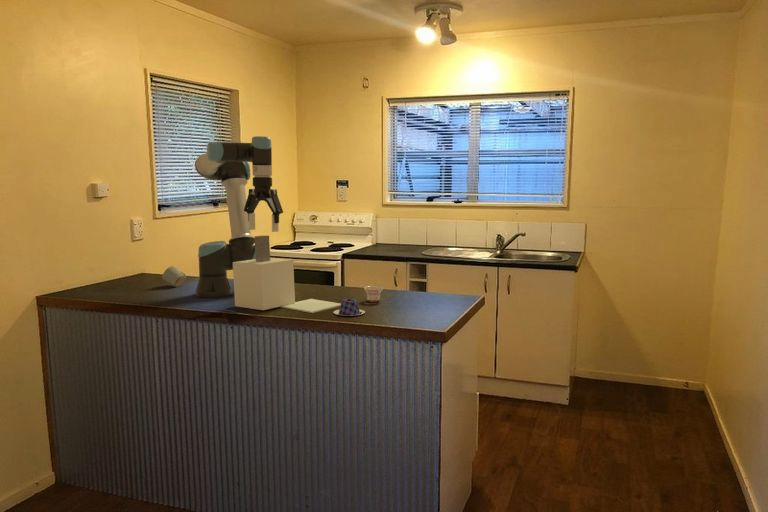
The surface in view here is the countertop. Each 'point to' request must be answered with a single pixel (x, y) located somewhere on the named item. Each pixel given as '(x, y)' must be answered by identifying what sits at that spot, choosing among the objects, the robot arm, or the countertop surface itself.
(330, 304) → the mat
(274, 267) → the cover
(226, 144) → the robot arm
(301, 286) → the countertop surface
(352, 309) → the pudding
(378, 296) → the teacup
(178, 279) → the ceramic mug
